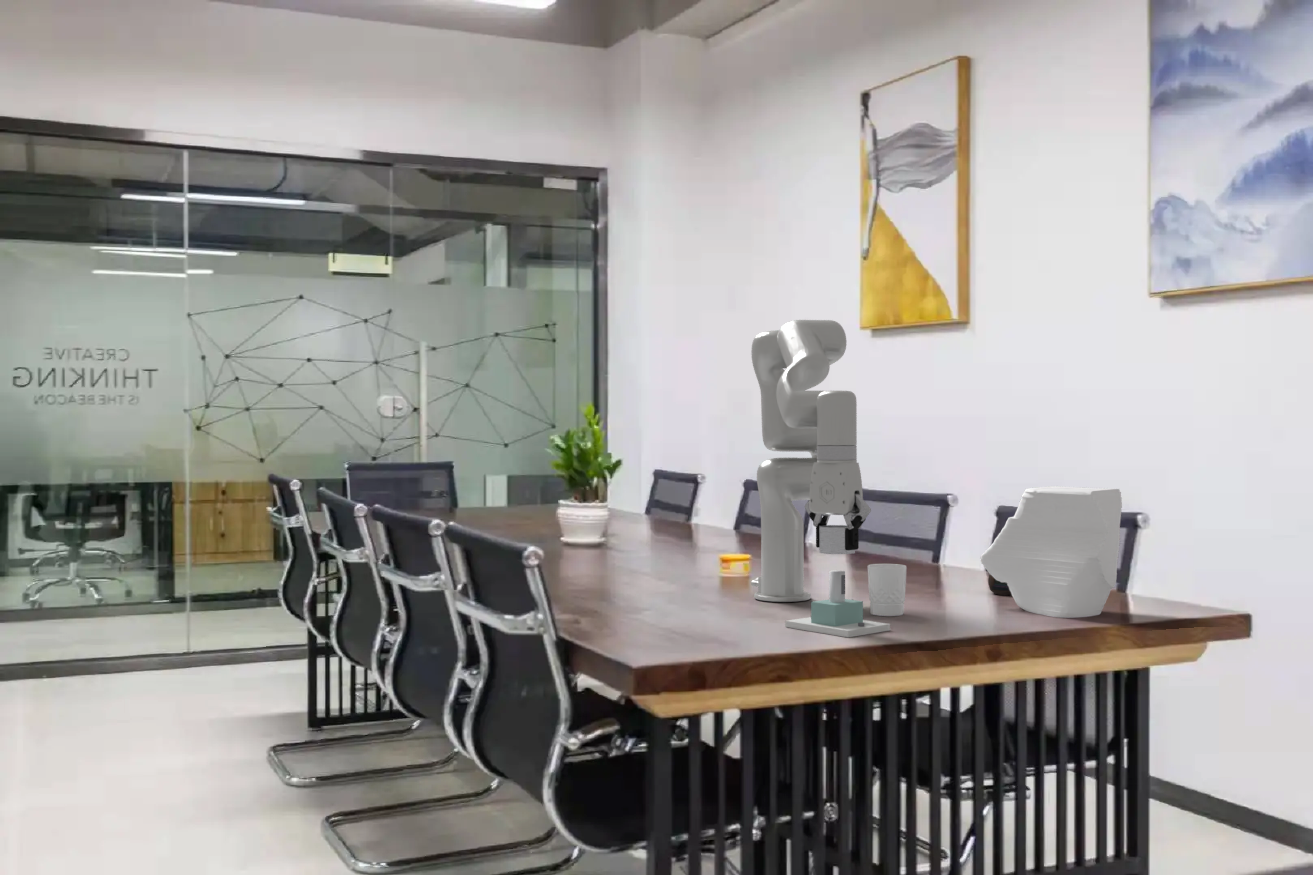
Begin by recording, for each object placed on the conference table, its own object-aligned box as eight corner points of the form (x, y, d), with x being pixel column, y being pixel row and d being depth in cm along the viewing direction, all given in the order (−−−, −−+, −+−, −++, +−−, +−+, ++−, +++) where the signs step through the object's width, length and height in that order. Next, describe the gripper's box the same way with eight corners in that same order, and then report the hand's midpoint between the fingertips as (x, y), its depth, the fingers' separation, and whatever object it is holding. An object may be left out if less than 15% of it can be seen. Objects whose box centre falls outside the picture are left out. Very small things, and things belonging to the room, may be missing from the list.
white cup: (880, 617, 258) (880, 568, 258) (860, 612, 266) (860, 564, 266) (914, 615, 261) (913, 566, 261) (893, 610, 269) (893, 562, 269)
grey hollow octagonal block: (812, 552, 245) (812, 526, 245) (835, 550, 249) (835, 524, 249) (838, 554, 240) (838, 528, 240) (861, 552, 244) (861, 526, 244)
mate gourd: (1020, 592, 296) (1020, 549, 296) (1021, 596, 289) (1021, 552, 289) (988, 591, 298) (988, 548, 298) (988, 595, 291) (988, 551, 290)
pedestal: (785, 626, 247) (785, 570, 247) (827, 620, 255) (827, 565, 255) (847, 637, 235) (847, 577, 235) (890, 630, 242) (890, 572, 242)
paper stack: (1079, 622, 252) (1079, 492, 252) (976, 606, 274) (976, 486, 274) (1147, 613, 263) (1147, 488, 263) (1042, 598, 286) (1042, 483, 286)
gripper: (790, 454, 249) (790, 546, 249) (858, 456, 235) (858, 553, 235) (816, 454, 253) (817, 544, 254) (884, 455, 240) (885, 550, 240)
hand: (837, 547), depth 245 cm, fingers closed on grey hollow octagonal block, 6 cm apart
